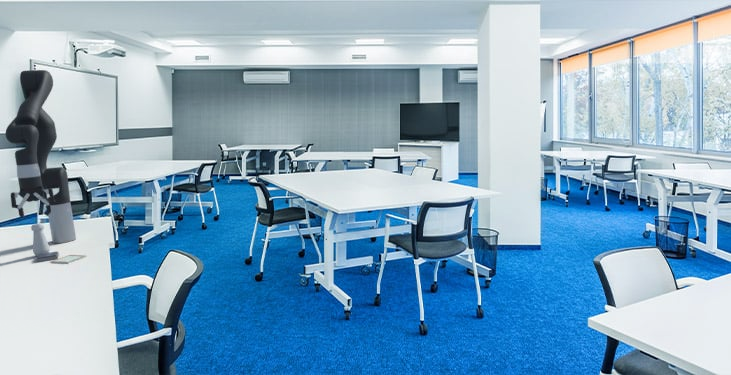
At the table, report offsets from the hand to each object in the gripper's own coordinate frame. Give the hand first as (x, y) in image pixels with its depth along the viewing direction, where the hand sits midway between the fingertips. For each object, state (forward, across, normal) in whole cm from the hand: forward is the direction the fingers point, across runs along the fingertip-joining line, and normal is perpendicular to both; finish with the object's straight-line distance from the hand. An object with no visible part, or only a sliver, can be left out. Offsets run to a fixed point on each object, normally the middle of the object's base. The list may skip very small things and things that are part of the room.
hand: (35, 216), depth 197 cm
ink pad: (+16, -2, +7) cm, 18 cm away
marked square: (+16, -10, +15) cm, 25 cm away
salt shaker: (+16, 0, 0) cm, 17 cm away
